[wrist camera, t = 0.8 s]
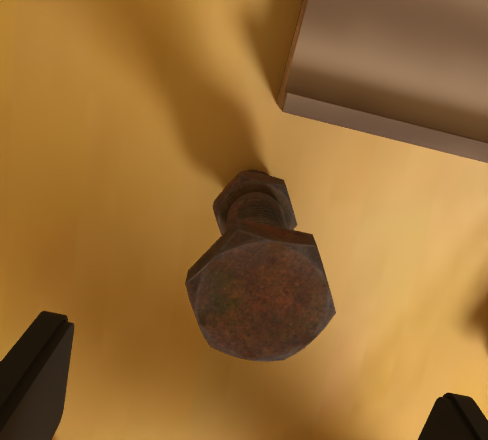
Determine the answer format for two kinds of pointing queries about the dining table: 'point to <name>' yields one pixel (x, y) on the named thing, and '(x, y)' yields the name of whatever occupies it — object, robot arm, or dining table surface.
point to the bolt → (259, 275)
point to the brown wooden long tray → (394, 70)
